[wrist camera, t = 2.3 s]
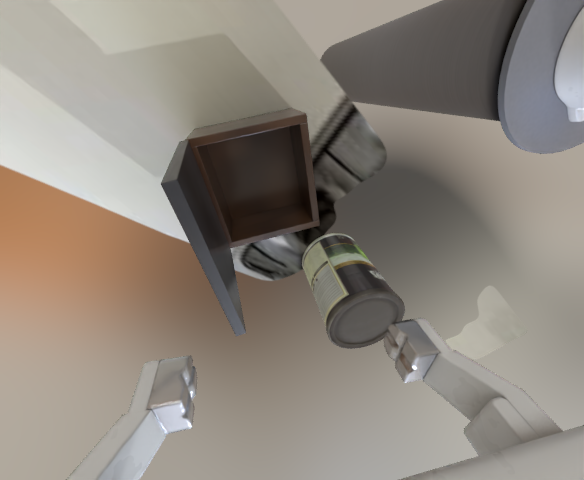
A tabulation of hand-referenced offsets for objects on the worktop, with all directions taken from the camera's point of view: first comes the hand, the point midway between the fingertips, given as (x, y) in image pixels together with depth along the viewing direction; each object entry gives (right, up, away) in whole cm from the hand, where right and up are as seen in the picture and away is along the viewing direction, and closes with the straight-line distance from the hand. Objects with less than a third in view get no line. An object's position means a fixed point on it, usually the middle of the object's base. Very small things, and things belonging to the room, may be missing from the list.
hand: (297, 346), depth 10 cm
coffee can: (+6, +1, +32) cm, 33 cm away
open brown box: (-5, +13, +22) cm, 26 cm away
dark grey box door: (-7, +5, +10) cm, 13 cm away
